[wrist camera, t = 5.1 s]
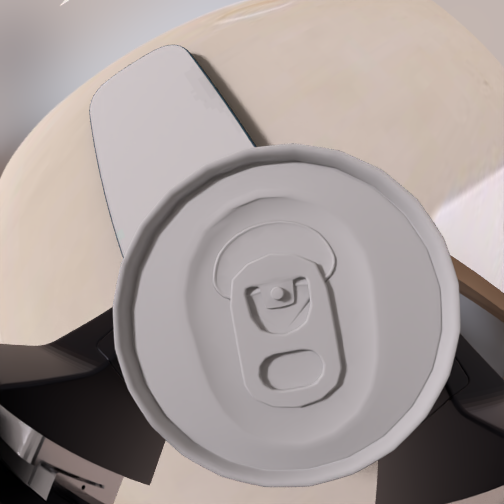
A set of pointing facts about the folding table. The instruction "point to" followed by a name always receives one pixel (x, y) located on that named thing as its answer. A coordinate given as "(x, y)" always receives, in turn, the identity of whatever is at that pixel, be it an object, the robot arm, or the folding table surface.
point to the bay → (481, 315)
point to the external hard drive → (157, 132)
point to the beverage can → (286, 315)
